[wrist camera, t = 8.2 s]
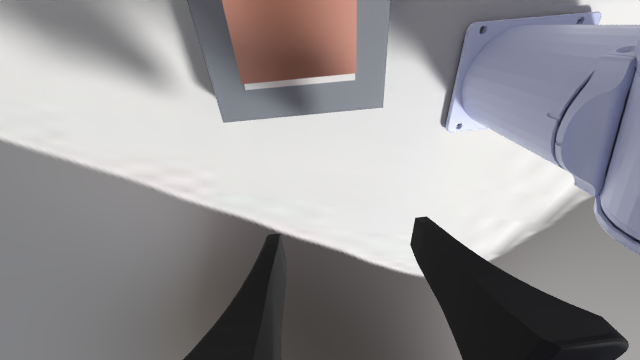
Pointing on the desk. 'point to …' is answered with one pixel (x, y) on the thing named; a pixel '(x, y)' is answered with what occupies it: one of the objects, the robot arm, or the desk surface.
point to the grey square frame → (295, 93)
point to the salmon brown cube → (292, 38)
